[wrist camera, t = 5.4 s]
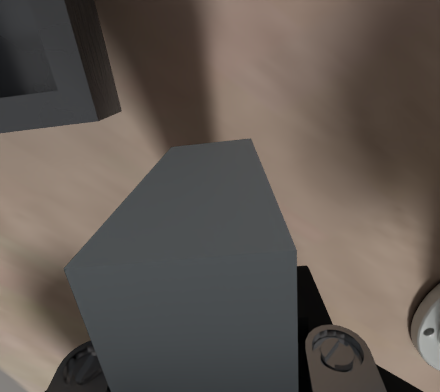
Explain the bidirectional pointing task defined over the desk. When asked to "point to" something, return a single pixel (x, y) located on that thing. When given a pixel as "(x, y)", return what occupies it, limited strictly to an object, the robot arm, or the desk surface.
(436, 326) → the robot arm
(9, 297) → the desk surface
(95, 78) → the rack
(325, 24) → the desk surface
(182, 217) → the panel
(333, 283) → the desk surface
